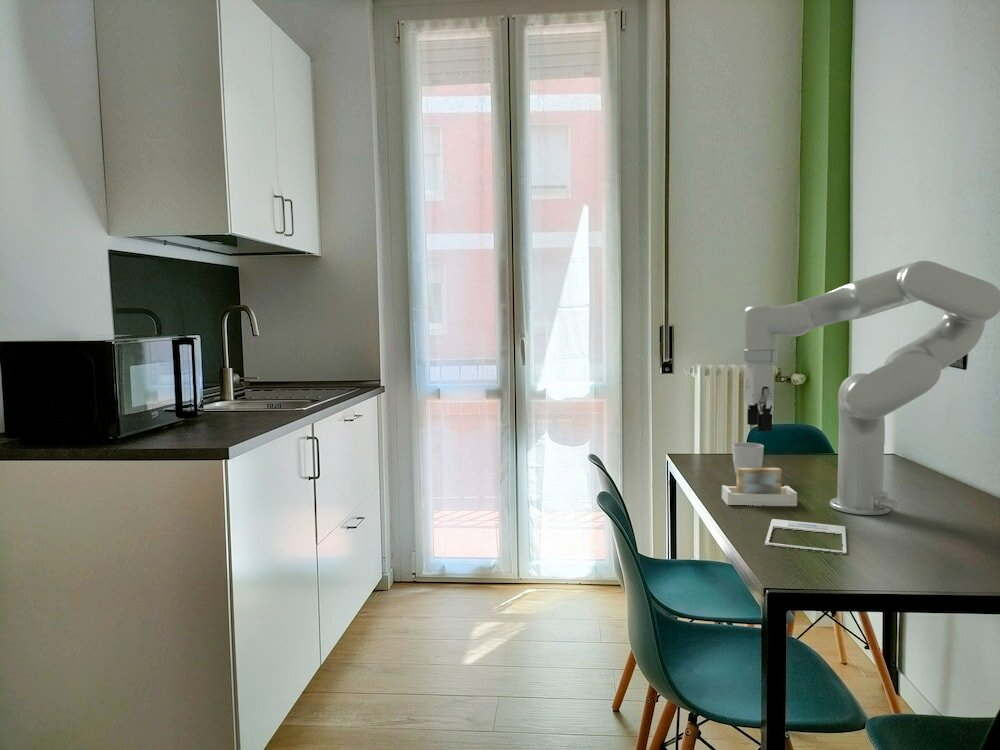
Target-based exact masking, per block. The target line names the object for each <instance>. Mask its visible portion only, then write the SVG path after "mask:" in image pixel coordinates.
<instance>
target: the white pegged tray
mask: <svg viewBox="0 0 1000 750" xmlns="http://www.w3.org/2000/svg"><path fill="white" fill-rule="evenodd" d="M721 499H722V500H723V501H724V503H725V504H726V505H727V506H728V505H747V506H748V505H749V507H753V506H754V507H797V506H798V492H797V491H795V490H794V489H793V488H791V487H790V486H789V485H784V486H781V494H736V485H735V486H728V485H723V484H722V485H721ZM750 505H751V506H750ZM752 505H753V506H752ZM763 505H764V506H763ZM747 506H746V507H747Z"/></svg>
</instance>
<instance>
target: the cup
mask: <svg viewBox="0 0 1000 750" xmlns="http://www.w3.org/2000/svg"><path fill="white" fill-rule="evenodd" d="M764 448H765V446H764V445H763V444H761V443H757V442H734V443H732V460H733V467H734V472H735V474H736V468H763V467H762V466H763V461H764V460H763V459H764V450H765V449H764Z"/></svg>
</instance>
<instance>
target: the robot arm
mask: <svg viewBox="0 0 1000 750" xmlns="http://www.w3.org/2000/svg"><path fill="white" fill-rule="evenodd" d="M919 301H920V302H922V303H925V304H927V305H929V306H931V307H933V308H937V309H940V310H942V311H944V312H943V313H944V314H943V317H942V318H941V321H940V322H939V323H938V324H937V325H936V326H935V327H933V328H932V329H931V330H929V331H927V332H925V333H924V334H923V335H921V336H920V337H918V338H916V339H914V340H913V341H911V342H909V343H908V344H906V345H903V346H902V347H901V348H898V349H896V350H894V351H893V352H891V353H890V354H889V355H888V356H887V357H886V358H885V361H884V363H883V365H881V366H879V367H877V368H876V369H874V370H872V371H870V372H869V373H864V372H863V373H862V372H859V373H854V374H851V375H850V376H848V377H846V378H845V379H843V381H842V383H841V384H840V386H839V389H838V393H837V394H838V396H837V406H838V409H837V410H838V445H837V446H838V447H837V448H838V451H837V488H836V489H837V491H836V492H837V493H836V495H837V496H836V497H834V498H831V499H830V500H829V506H830V507H831V508H832V509H833V510H836V511H839V512H843V513H847V514H854V515H862V516H880V515H886V514H889V513H890V512H891V510H893V511H896V510H897V509H898V506H899V500H898V499H893V498H889V494H888V493H889V492H888V491H885V490H884V474H885V473H884V471H885V469H884V467H885V444H886V441H885V440H886V432H885V431H886V426H885V425H886V420H885V417H886V416H887V415H889V414H892V413H893V412H895V411H896V410H898V409H900V408H902V407H903V406H905V405H906V404H909V403H910V402H912V401H914V400H916V399H917V398H919V397H921V396H922V395H924V394H926V393H927V392H928V391H930V390H931V389H933V387H934V386H935V385H936V384H937V383H938V382H939V379H940V377H941V375H942V371H943V370H945V369H946V368H948V367H950V366H951V365H952V364H954V363H956V362H957V361H958V360H961V358H964V357H965V356H966V355H968V354H969V353H970V352H972V350H973V349H974V348H975V346H977V344H978V343H979V341H980V340H981V337H982V335H983V333H984V329H985V326H986V322H987V321H990V320H991V319H993V318H995V317H996V316H997V315H998V314H999V313H1000V289H999V288H998V287H997V286H996V285H994V284H993V283H991V282H989V281H986V280H983V279H981V278H978V277H975V276H972V275H970V274H968V273H964V272H962V271H959V270H956V269H954V268H951V267H947V266H945V265H943V264H940V263H937V262H934V261H930V260H919V261H915V262H911V263H907V264H905V265H901V266H899V267H895V268H892V269H889V270H887V271H884V272H880V273H877V274H874V275H871V276H867V277H865V278H862V279H858V280H855V281H852V282H849V283H847V284H844V285H842V286H840V287H838V288H835V289H833V290H830V291H828V292H827V291H826V293H822V294H819V295H817V296H812V297H810V298H807V299H804V300H801V301H798V302H794V303H791V304H786V305H785V304H784V305H779V306H778V305H777V306H774V305H750V306H747V307H745V309H744V314H743V321H744V322H743V364H745V373H744V382H743V383H744V385H743V387H744V388H743V400H744V401H745V402H746V403H747V413H746V415H747V421H746V422H747V423H746V425H748V426H757V427H756V428H757V431H758V432H772V431H773V404H774V399H775V397H774V396H775V394H774V393H775V380H774V379H775V377H774V376H775V375H774V374H775V371H774V364H775V365H776V364H778V335H783V336H789V337H800V336H803V335H805V334H807V333H808V332H809V331H812V330H815V329H818V328H821V327H825V326H828V325H831V324H832V325H833V324H836V323H839V322H845V321H854V320H859V319H863V318H867V317H870V316H873V315H876V314H879V313H882V312H886V311H888V310H892V309H895V308H899V307H902V306H905V305H909V304H912V303H914V302H919Z"/></svg>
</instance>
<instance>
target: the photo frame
mask: <svg viewBox="0 0 1000 750" xmlns="http://www.w3.org/2000/svg"><path fill="white" fill-rule="evenodd" d="M773 527H774V528H773ZM775 528H783V529H782V530H784V529H793V530H792V531H794V530H804V531H813V532H826V533H835V534H842V535H841V539H842V541H841V542H842V544H843V547H842V550H838V549H837V550H836V549H830V548H829V549H828V548H820V547H809V546H803V545H802V546H801V545H795V544H794V545H792V544H783V543H775V542H770V541H769V540H771V538H772V534H773V531H774V529H775ZM804 531H803V532H804ZM813 532H812V533H813ZM846 532H847V531H846V525H845V526H844V525H835V524H825V523H816V522H807V521H796V520H788V519H775V518H771V521H770V524H769V528H768V531H767V535H766V539H765V542H764V546H765V545H774V546H781V547H782V546H783V547H791V548H792V547H793V548H800V549H812V550H822V551H831V552H842V553H847V536H846V535H847V534H846ZM771 533H772V534H771ZM770 537H771V538H770ZM847 554H848V553H847Z"/></svg>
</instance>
